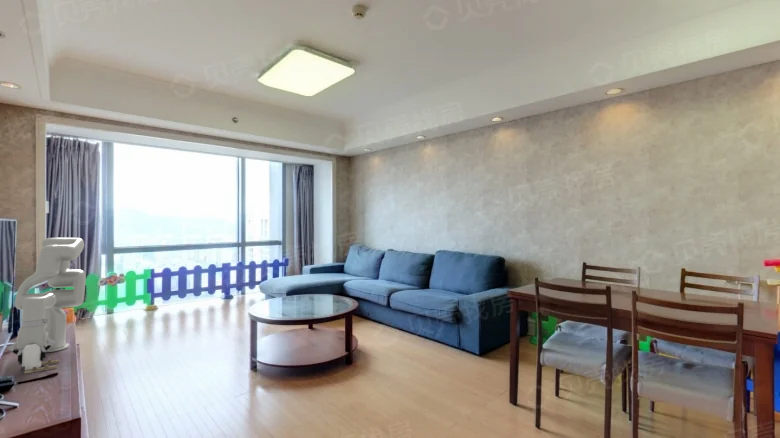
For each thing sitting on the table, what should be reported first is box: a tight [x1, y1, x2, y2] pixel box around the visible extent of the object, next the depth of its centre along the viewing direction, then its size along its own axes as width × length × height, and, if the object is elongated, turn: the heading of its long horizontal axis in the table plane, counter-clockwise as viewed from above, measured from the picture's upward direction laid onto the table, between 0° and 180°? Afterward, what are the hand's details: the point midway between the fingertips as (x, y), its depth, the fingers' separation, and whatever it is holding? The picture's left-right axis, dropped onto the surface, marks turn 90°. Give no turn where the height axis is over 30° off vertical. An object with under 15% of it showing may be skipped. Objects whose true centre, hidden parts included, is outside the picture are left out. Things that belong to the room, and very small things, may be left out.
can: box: [21, 343, 42, 370], centre depth 170 cm, size 6×6×12 cm
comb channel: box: [20, 358, 60, 375], centre depth 172 cm, size 9×12×3 cm
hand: (31, 361), depth 170 cm, fingers closed on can, 6 cm apart
